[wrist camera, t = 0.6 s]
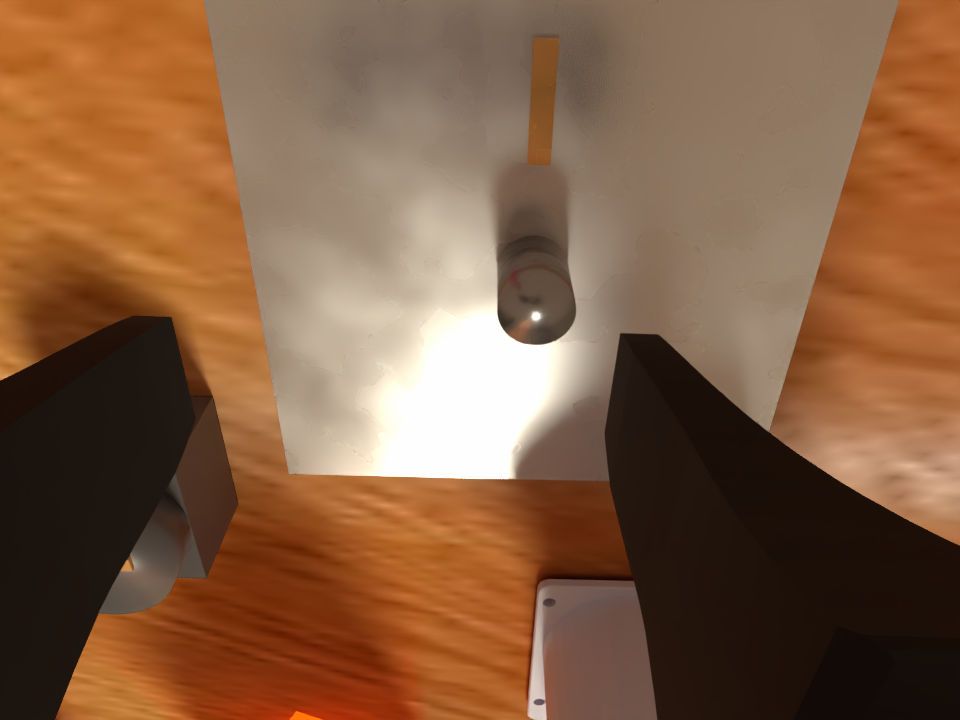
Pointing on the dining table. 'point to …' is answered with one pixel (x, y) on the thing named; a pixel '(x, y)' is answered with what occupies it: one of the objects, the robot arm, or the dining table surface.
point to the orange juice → (303, 716)
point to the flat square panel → (529, 210)
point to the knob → (181, 521)
